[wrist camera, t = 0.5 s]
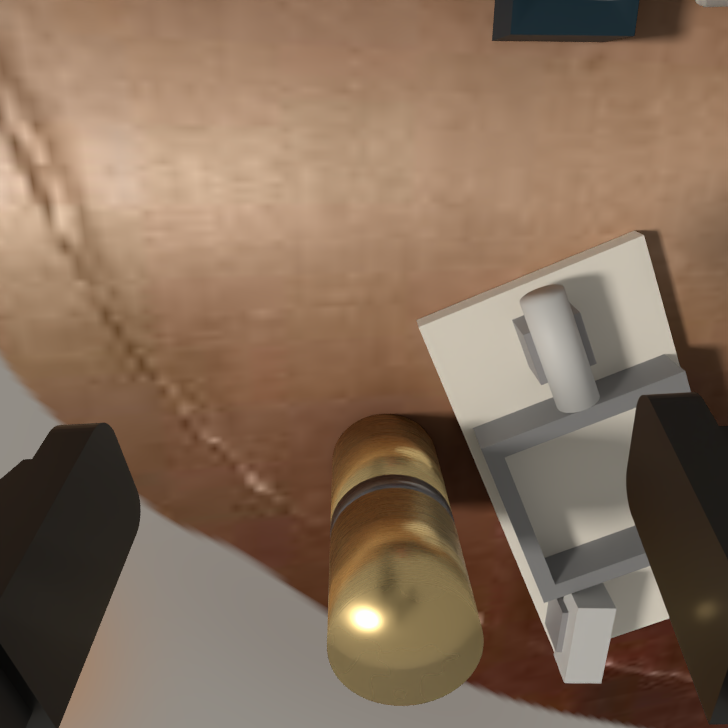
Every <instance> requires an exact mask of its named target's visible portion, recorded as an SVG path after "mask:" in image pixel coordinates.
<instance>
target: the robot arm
mask: <svg viewBox="0 0 728 728" xmlns="http://www.w3.org/2000/svg"><path fill="white" fill-rule="evenodd" d="M626 491H627V499H628V504H629V508H630V512H631V515H632V518H633V521H634V523H635V526H636V529H637V531H638V534H639V537H640V540H641V542H642V545H643V548H644V550H645V553H646V556H647V558H648V561H649V564H650V566H651V569H652V572H653V575H654V577H655V580H656V583H657V585H658V588H659V591H660V593H661V596H662V599H663V602H664V604H665V607H666V610H667V612H668V615H669V618H670V620H671V623H672V626H673V629H674V631H675V634H676V637H677V639H678V642H679V645H680V647H681V650H682V653H683V655H684V658H685V661H686V664H687V666H688V669H689V672H690V674H691V677H692V680H693V682H694V685H695V688H696V691H697V693H698V696H699V699H700V701H701V704H702V707H703V709H704V712H705V715H706V718H707V720H708V723H709V724H728V426H718V424H717V422H716V420H715V419H714V417H713V415H712V414H711V412H710V410H709V409H708V407H707V405H706V404H705V402H704V400H703V399H702V397H701V396H700V395H699V394H698V393H696V392H685V393H667V394H649V395H641V396H640V397H639V399H638V402H637V406H636V411H635V418H634V424H633V431H632V438H631V444H630V451H629V457H628V464H627V471H626ZM139 522H140V499H139V495H138V491H137V489H136V486H135V484H134V481H133V478H132V476H131V473H130V471H129V468H128V466H127V463H126V461H125V458H124V456H123V453H122V450H121V448H120V445H119V443H118V440H117V438H116V435H115V433H114V431H113V429H112V428H111V427H110V426H109V425H108V424H107V423H90V424H72V425H58V426H55V427H54V428H53V429H52V430H51V431H50V432H49V434H48V435H47V437H46V438H45V440H44V441H43V443H42V445H41V446H40V448H39V449H38V451H37V453H36V454H35V456H34V457H33V459H26V460H23V461H21V462H20V463H19V464H18V465H17V466H16V467H14V468H13V469H12V470H11V471H10V472H8V473H7V474H6V475H5V476H4V477H3V478H1V479H0V728H59V726H60V723H61V721H62V718H63V715H64V713H65V711H66V708H67V706H68V703H69V701H70V698H71V696H72V693H73V691H74V688H75V686H76V683H77V681H78V678H79V676H80V673H81V671H82V668H83V666H84V663H85V661H86V658H87V656H88V653H89V651H90V648H91V646H92V643H93V641H94V638H95V636H96V633H97V631H98V628H99V626H100V623H101V621H102V618H103V616H104V613H105V611H106V608H107V606H108V604H109V601H110V598H111V596H112V594H113V591H114V588H115V586H116V584H117V581H118V578H119V576H120V574H121V571H122V569H123V566H124V564H125V561H126V559H127V556H128V554H129V551H130V549H131V546H132V544H133V541H134V538H135V536H136V534H137V531H138V527H139Z"/></svg>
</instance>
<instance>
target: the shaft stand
mask: <svg viewBox="0 0 728 728" xmlns="http://www.w3.org/2000/svg"><path fill="white" fill-rule="evenodd" d="M417 323H418V326H419V329H420V331H421V334H422V336H423V339H424V341H425V343H426V346H427V348H428V351H429V353H430V355H431V358H432V360H433V363H434V365H435V367H436V370H437V372H438V375H439V377H440V379H441V382H442V384H443V387H444V389H445V391H446V394H447V396H448V399H449V401H450V403H451V406H452V408H453V411H454V413H455V415H456V418H457V420H458V422H459V425H460V427H461V430H462V432H463V434H464V437H465V439H466V442H467V444H468V446H469V449H470V451H471V454H472V456H473V458H474V461H475V463H476V466H477V468H478V470H479V473H480V475H481V478H482V480H483V482H484V485H485V487H486V490H487V492H488V494H489V497H490V499H491V502H492V504H493V506H494V509H495V511H496V514H497V516H498V518H499V521H500V523H501V526H502V528H503V530H504V533H505V535H506V538H507V540H508V542H509V545H510V547H511V550H512V552H513V554H514V557H515V559H516V562H517V564H518V566H519V569H520V571H521V573H522V576H523V578H524V581H525V583H526V585H527V588H528V590H529V593H530V595H531V597H532V600H533V602H534V605H535V607H536V609H537V612H538V614H539V617H540V619H541V621H542V624H543V626H544V629H545V631H546V633H547V636H548V638H549V641H550V643H551V645H552V648H553V650H554V657H555V659H556V662H557V665H558V667H559V670H560V673H561V675H562V678H563V681H564V683H601V681H602V676H603V672H604V667H605V662H606V657H607V652H608V647H609V643H610V638H613V637H616V636H619V635H622V634H625V633H628V632H630V631H633V630H636V629H639V628H642V627H645V626H648V625H651V624H654V623H657V622H660V621H663V620H666V619H669V615H668V612H667V610H666V607H665V604H664V602H663V599H662V596H661V593H660V591H659V588H658V585H657V583H656V580H655V577H654V575H653V572H652V569H651V566H650V564H649V561H648V558H647V556H646V553H645V550H644V548H643V545H642V542H641V540H640V537H639V534H638V531H637V529H636V526H635V523H634V521H633V518H632V515H631V512H630V508H629V504H628V499H627V491H626V471H627V464H628V457H629V451H630V444H631V438H632V431H633V424H634V418H635V411H636V406H637V402H638V399H639V397H640V396H641V395H649V394H667V393H685V392H691V390H690V387H689V383H688V379H687V376H686V372H685V370H683V369H682V368H681V367H680V365H679V361H678V357H677V354H676V350H675V346H674V343H673V339H672V335H671V332H670V328H669V325H668V321H667V317H666V314H665V310H664V306H663V303H662V299H661V295H660V292H659V288H658V284H657V281H656V277H655V274H654V270H653V266H652V263H651V259H650V255H649V252H648V248H647V244H646V241H645V237H644V235H643V234H641V233H638V232H636V231H632V232H630V233H627V234H625V235H623V236H620V237H618V238H615V239H613V240H610V241H608V242H606V243H603V244H601V245H598V246H596V247H593V248H591V249H588V250H586V251H584V252H581V253H579V254H576V255H574V256H571V257H569V258H567V259H564V260H562V261H559V262H557V263H554V264H552V265H549V266H547V267H545V268H542V269H540V270H537V271H535V272H532V273H530V274H528V275H525V276H523V277H520V278H518V279H515V280H513V281H510V282H508V283H506V284H503V285H501V286H498V287H496V288H493V289H491V290H489V291H486V292H484V293H481V294H479V295H476V296H474V297H471V298H469V299H467V300H464V301H462V302H459V303H457V304H454V305H452V306H450V307H447V308H445V309H442V310H440V311H437V312H435V313H432V314H430V315H428V316H425V317H423V318H420V319H418V320H417Z"/></svg>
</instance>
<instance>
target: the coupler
mask: <svg viewBox="0 0 728 728" xmlns="http://www.w3.org/2000/svg"><path fill="white" fill-rule="evenodd" d="M327 637H328V638H327V652H328V658H329V662H330V665H331V667H332V669H333V671H334V673H335V674H336V676H337V677H338V679H339V680H340V681H341V682H342V683H343V684H344V685H345V686H346V687H347V688H348V689H350V690H351V691H353V692H354V693H356V694H357V695H359V696H361V697H363V698H365V699H368V700H371V701H374V702H377V703H381V704H386V705H394V706H408V705H417V704H422V703H426V702H430V701H434V700H436V699H438V698H441V697H443V696H445V695H447V694H449V693H451V692H452V691H454V690H455V689H457V688H458V687H459V686H461V685H462V684H463V683H464V682H465V681H466V680H467V679H468V678H469V677H470V676H471V674H472V673H473V672H474V670H475V669H476V667H477V665H478V663H479V661H480V658H481V655H482V651H483V632H482V627H481V624H480V620H479V616H478V612H477V608H476V604H475V600H474V597H473V593H472V589H471V585H470V581H469V577H468V573H467V569H466V566H465V562H464V558H463V554H462V550H461V546H460V542H459V539H458V535H457V531H456V527H455V523H454V519H453V515H452V511H451V508H450V504H449V500H448V496H447V492H446V488H445V484H444V480H443V477H442V473H441V469H440V465H439V461H438V457H437V453H436V450H435V446H434V444H433V441H432V439H431V437H430V436H429V435H428V433H427V432H426V431H425V430H424V429H423V428H422V427H421V426H420V425H419V424H417V423H416V422H414V421H412V420H410V419H408V418H406V417H402V416H399V415H393V414H378V415H373V416H369V417H366V418H363V419H361V420H359V421H357V422H356V423H354V424H352V425H351V426H350V427H349V428H347V429H346V431H345V432H344V433H343V434H342V435H341V437H340V438H339V439H338V441H337V443H336V446H335V448H334V452H333V460H332V494H331V529H330V564H329V600H328V635H327Z"/></svg>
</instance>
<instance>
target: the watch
mask: <svg viewBox="0 0 728 728" xmlns="http://www.w3.org/2000/svg"><path fill="white" fill-rule="evenodd" d="M695 1H696V3H697V4H699V5H701V6H703V7H725V6H728V0H695ZM638 6H639V0H495V8H494V23H493V37H492V41H559V42H606V41H611V40H616V39H622V38H627V37H632V36H634V35H635V28H636V21H637V13H638Z"/></svg>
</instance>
